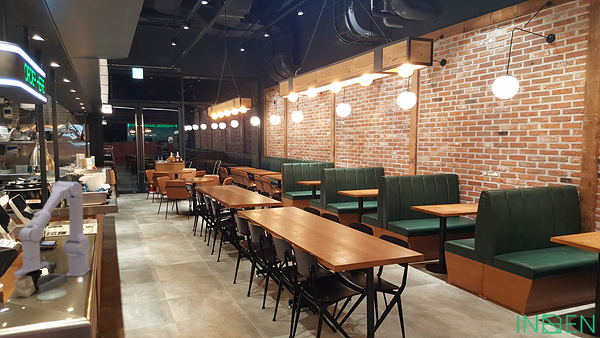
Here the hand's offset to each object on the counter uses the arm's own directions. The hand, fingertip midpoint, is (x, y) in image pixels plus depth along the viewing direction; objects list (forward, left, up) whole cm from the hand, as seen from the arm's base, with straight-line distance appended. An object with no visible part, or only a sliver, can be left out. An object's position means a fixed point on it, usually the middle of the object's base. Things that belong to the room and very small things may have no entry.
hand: (32, 288), depth 159 cm
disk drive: (-26, -9, -2) cm, 28 cm away
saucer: (+5, +9, -1) cm, 10 cm away
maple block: (+2, -1, -1) cm, 3 cm away
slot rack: (-5, +2, -1) cm, 6 cm away
